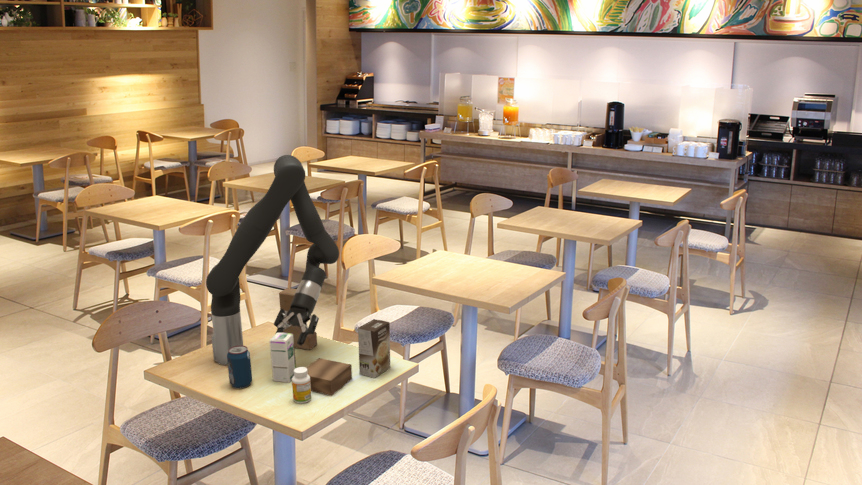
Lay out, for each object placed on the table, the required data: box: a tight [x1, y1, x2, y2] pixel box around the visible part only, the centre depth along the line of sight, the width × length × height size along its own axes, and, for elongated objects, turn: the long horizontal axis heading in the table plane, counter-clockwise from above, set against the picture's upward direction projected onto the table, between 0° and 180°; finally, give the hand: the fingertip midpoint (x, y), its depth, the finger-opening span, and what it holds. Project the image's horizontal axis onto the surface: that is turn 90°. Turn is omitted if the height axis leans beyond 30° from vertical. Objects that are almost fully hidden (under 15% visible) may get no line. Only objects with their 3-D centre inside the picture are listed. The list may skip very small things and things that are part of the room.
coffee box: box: [357, 318, 391, 379], centre depth 232 cm, size 9×6×16 cm
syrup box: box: [268, 332, 297, 383], centre depth 228 cm, size 6×6×14 cm
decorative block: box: [278, 287, 318, 351], centre depth 251 cm, size 11×6×20 cm, turn 68°
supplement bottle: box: [291, 366, 312, 404], centre depth 215 cm, size 5×5×10 cm
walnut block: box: [305, 357, 353, 397], centre depth 225 cm, size 12×12×5 cm
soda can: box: [227, 345, 253, 389], centre depth 224 cm, size 7×7×12 cm
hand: (288, 342), depth 229 cm, fingers open, 8 cm apart
